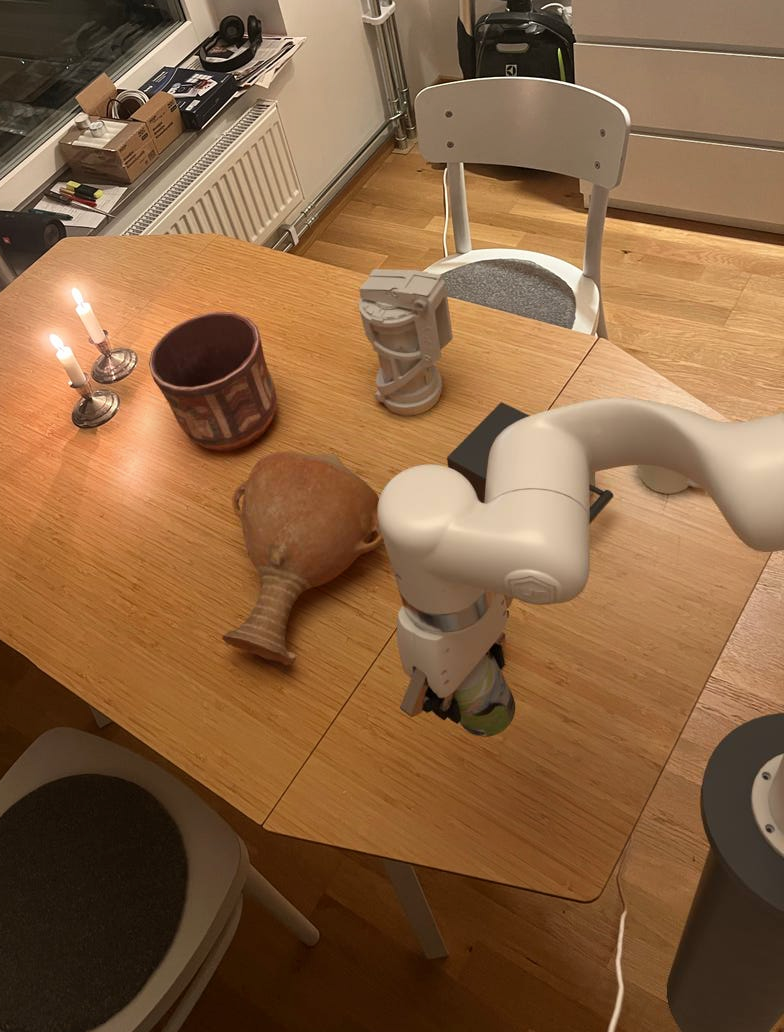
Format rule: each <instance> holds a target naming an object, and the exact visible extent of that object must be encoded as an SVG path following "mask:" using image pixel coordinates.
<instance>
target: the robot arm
mask: <svg viewBox="0 0 784 1032" xmlns="http://www.w3.org/2000/svg"><path fill="white" fill-rule="evenodd" d="M640 465H650V466H656V467H662V468H665V469H669V470H672V471H675V472H677V473H679V474H681V475H683V476H685V477H687V478H688V479H690V480H691V481H693V482H694V483H696V484H697V485H698V486H700V487H699V488H701V489H702V490H703V491H704V492H705V493H706V494H707V495H708V496H709V497H710V499H711V500H712V501H713V502H714V504H715V505H716V507H717V508H718V510H719V512H720V513H721V515H722V516H723V518H724V519H725V521H726V524H727V525H728V526H729V527H730V529H731V530H732V531H733V533H734V534H735V535H736V537H737V538H738V539H739V540H740V541H741V542H742V543H743V544H744V545H746V546H747V547H748V548H750V549H752V550H754V551H756V552H762V553H774V552H781V551H784V412H780V413H775V414H771V415H767V416H762V417H758V418H753V419H749V420H743V421H735V422H734V421H733V422H732V421H731V422H730V421H720V420H716V419H713V418H710V417H708V416H705V415H703V414H700V413H697V412H695V411H691V410H689V409H686V408H683V407H680V406H677V405H673V404H668V403H662V402H657V401H652V400H646V399H641V398H634V397H622V396H621V397H619V396H613V397H611V396H610V397H600V398H599V397H598V398H591V399H588V400H583V401H579V402H576V403H571V404H567V405H563V406H559V407H555V408H551V409H547V410H544V411H540V412H537V413H535V414H531V415H529V416H528V417H526V418H523V419H521V420H519V421H517V422H515V423H513V424H512V425H510V426H508V427H507V428H506V429H504V430H503V431H502V432H501V433H500V434H499V435H498V436H497V438H496V439H495V441H494V443H493V445H492V447H491V449H490V453H489V459H488V467H487V476H486V488H485V502H484V503H481V502H480V501H479V500H478V498H477V495H476V492H475V490H474V488H473V487H472V485H471V484H470V482H469V481H468V480H467V479H466V478H465V477H464V476H463V475H462V474H460V473H459V472H457V471H456V470H453V469H451V468H449V467H448V466H446V465H442V464H433V463H430V464H429V463H427V464H420V465H419V464H418V465H415V466H412V467H409V468H406V469H404V470H402V471H400V472H398V473H397V474H396V475H395V476H394V477H393V478H391V479H390V480H389V481H388V483H386V484H385V486H384V488H383V490H382V491H381V492H380V493H381V494H380V496H379V497H378V498H379V502H378V507H377V516H378V522H379V526H380V530H381V533H382V537H383V540H384V541H383V543H384V545H385V550H386V552H387V556H388V559H389V563H390V566H391V570H392V574H393V576H394V579H395V582H396V586H397V590H398V592H399V596H400V599H401V602H402V606H401V607H400V609H399V611H398V613H397V620H396V636H397V637H396V639H397V648H398V653H399V658H400V663H401V666H402V669H403V672H404V673H405V674H406V676H408V677H409V678H410V681H409V684H408V685H407V688H406V691H405V694H404V696H403V698H402V701H401V703H400V706H399V709H400V710H401V711H402V712H403V713H405V714H406V715H407V716H409V717H410V718H414V717H416V716H418V715H421V714H422V713H423V712H424V713H426V714H427V713H430V712H432V713H433V714H434V715H436V717H438V718H439V719H441V720H442V721H446V720H447V719H449V720H450V721H452V723H454V724H456V725H458V724H460V721H461V714H460V710H459V706H458V702H457V700H456V699H454V698H453V692H454V691H455V690H456V689H457V687H458V686H459V685H460V684H461V683H462V682H463V680H464V679H465V678H466V677H467V676H468V674H469V673H470V672H471V671H472V670H473V668H474V667H475V666H476V665H477V664H478V662H479V661H480V660H481V659H482V658H483V656H484V655H485V654H486V653H487V651H488V650H490V652H491V653H492V654H493V656H494V658H495V660H496V662H497V664H498V666H499V668H500V670H503V669H504V668H505V666H506V663H505V662H506V661H505V656H504V650H503V649H504V648H503V646H502V644H503V643H504V641H505V639H506V635H507V634H506V633H505V632H504V630H505V629H506V627H507V625H508V620H509V617H510V611H509V609H508V608H510V607H511V605H512V602H513V601H514V600H513V599H516V600H518V601H521V602H523V603H527V604H530V605H534V606H549V605H556V604H563V603H566V602H570V601H572V600H574V599H575V598H577V597H579V595H580V594H581V593H582V592H583V591H584V590H585V588H586V586H587V583H588V582H589V578H590V570H591V569H590V568H591V567H590V566H591V549H590V548H591V544H590V543H591V542H590V541H591V539H590V536H591V535H590V533H591V532H590V525H589V520H590V507H591V505H590V497H589V473H592V472H595V473H597V472H601V471H605V470H610V469H616V468H621V467H630V466H631V467H632V466H640ZM763 777H766V778H767V779H768V780H765V779H764V778H763ZM751 809H752V812H753V816H754V820H755V822H756V824H757V827H758V829H759V831H760V833H761V834H762V835H763V837H764V838H765V840H766V841H767V843H768V844H769V845H770V846H771V847H772V848H773V849H774V850H775V851H776V852H777V853H778V854H779V855H780V856H781V857H783V858H784V754H781V755H779V756H776V757H774V758H773V759H771V760H770V761H768V762H767V763H766V764H765V765H764V766H763V767H762V768H761V769H760V771H759V773H758V774H757V776H756V778H755V781H754V783H753V786H752V792H751ZM766 829H769V830H770V831H771V833H769V832H767V831H766Z"/></svg>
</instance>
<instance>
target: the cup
mask: <svg viewBox="0 0 784 1032" xmlns="http://www.w3.org/2000/svg"><path fill="white" fill-rule="evenodd" d="M639 477H640V478H641V481H642V482H643V483H644V485H645V486H647V487H648V488H649V489H651V490H652V491H655V492H657V493H660V494H668V495H669V494H676V493H680V492H682V491H684V490H686V489H687V488H689V487H693V488H697V489H698V488H701V487H700V486H698V485H697V484H696V483H694V482H693V481H691V480H690V479H688V478H687V477H685V476H683V475H681V474H679V473H677V472H675V471H672V470H669V469H665V468H662V467H656V466H650V465H639Z"/></svg>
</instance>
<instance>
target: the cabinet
mask: <svg viewBox="0 0 784 1032" xmlns="http://www.w3.org/2000/svg"><path fill="white" fill-rule="evenodd" d="M528 416H530V414H527V413H525V412H523V411H521V410H519V409H517V408H514V407H513V406H511V405H508V404H506V403H504V402H502V401H501V402H500V403H499V404H498V405H497V406H495V408H493V410H491V412H490V413H489V414H487V416H486V417H485V418H484V419H483V420H482V421H481V422H480V423H479V424H478V425H477V426H476V427H475V428H474V429H473V430H472V431H471V432H470V433H469V434H468V435H467V436H466V437H465V438H464V439H463V440H462V442H461V443H459V445H457V446H456V447H455V448H454V450H452V452H451V453H450V454H449V455H448V456H446V462H447V467H449V468H451V469H453V470H456V471H457V472H459V473H460V474H462V475H463V476H464V477H465V478H466V479H467V480H468V481H469V482H470V484H471V485H472V487H473V488H474V490H475V492H476V495H477V498H478V500H479V501H480V502H481V503H484V502H485V488H486V476H487V467H488V459H489V453H490V449H491V447H492V445H493V443H494V441H495V439H496V438H497V436H498V435H499V434H500V433H501V432H502V431H503V430H504V429H506V428H507V427H508V426H510V425H512V424H513V423H515V422H517V421H519V420H521V419H523V418H526V417H528Z"/></svg>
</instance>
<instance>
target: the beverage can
mask: <svg viewBox="0 0 784 1032" xmlns="http://www.w3.org/2000/svg"><path fill="white" fill-rule="evenodd" d="M453 698H454V699H456V700H457V702H458V706H459V710H460V714H461V721H460V722H459V724H460V725H461V727H462V728H463V729H464V730H465V731H467V732H468V733H470V734H471V735H474V736H477V737H481V738H490V737H494V736H497V735H499V734H501V733H502V732H504V731H505V730H506V729H507V728H508V727H509V726H510V725H511V723H512V722H513V720H514V718H515V713H516V702H515V698H514V695H513V693H512V691H511V688H510V687H509V685H508V683H507V681H506V678H505V677H504V674H503V672H502V669H500V668H499V666H498V664H497V662H496V660H495V658H494V656H493V654H492V653H491V652H490V650H488V651H487V653H486V654H485V655H484V656H483V658H482V659H481V660H480V661H479V662H478V664H477V665H476V666H475V667H474V668H473V670H472V671H471V672H470V673H469V674H468V676H467V677H466V678H465V679H464V680H463V682H462V683H461V684H460V685H459V686H458V687H457V689H456V690H455V691H454V692H453Z"/></svg>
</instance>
